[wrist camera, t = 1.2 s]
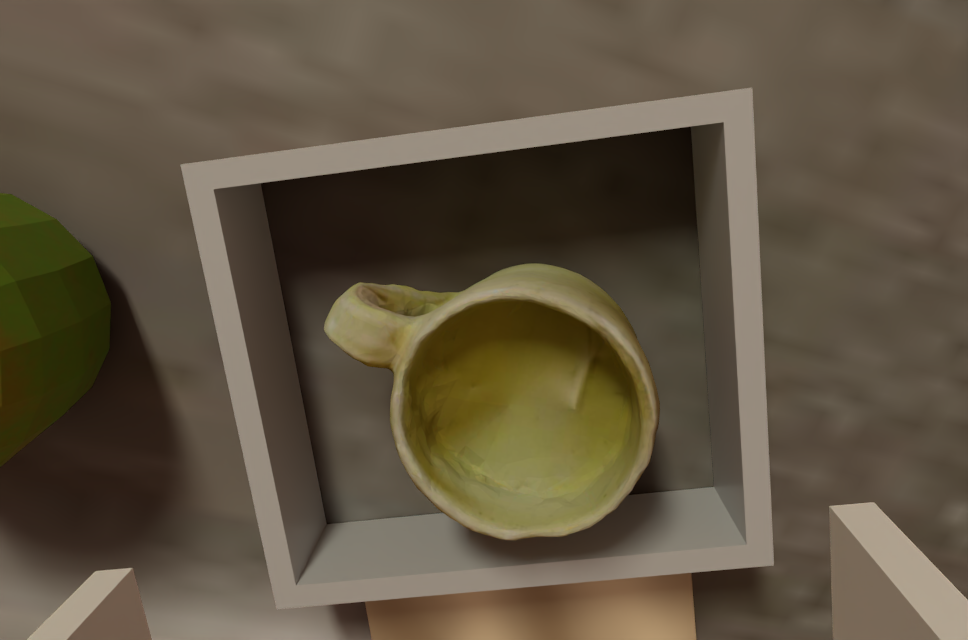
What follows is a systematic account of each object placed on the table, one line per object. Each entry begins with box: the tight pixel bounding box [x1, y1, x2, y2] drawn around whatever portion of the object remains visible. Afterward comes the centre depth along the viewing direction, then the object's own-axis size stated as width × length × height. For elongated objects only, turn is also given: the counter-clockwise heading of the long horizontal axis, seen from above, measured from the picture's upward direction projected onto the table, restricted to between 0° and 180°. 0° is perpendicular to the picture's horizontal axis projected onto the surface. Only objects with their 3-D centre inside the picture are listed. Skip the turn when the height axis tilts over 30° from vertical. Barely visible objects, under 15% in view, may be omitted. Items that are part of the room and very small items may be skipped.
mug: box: [324, 263, 660, 541], centre depth 29 cm, size 12×10×10 cm
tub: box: [181, 88, 774, 609], centre depth 30 cm, size 20×18×5 cm
